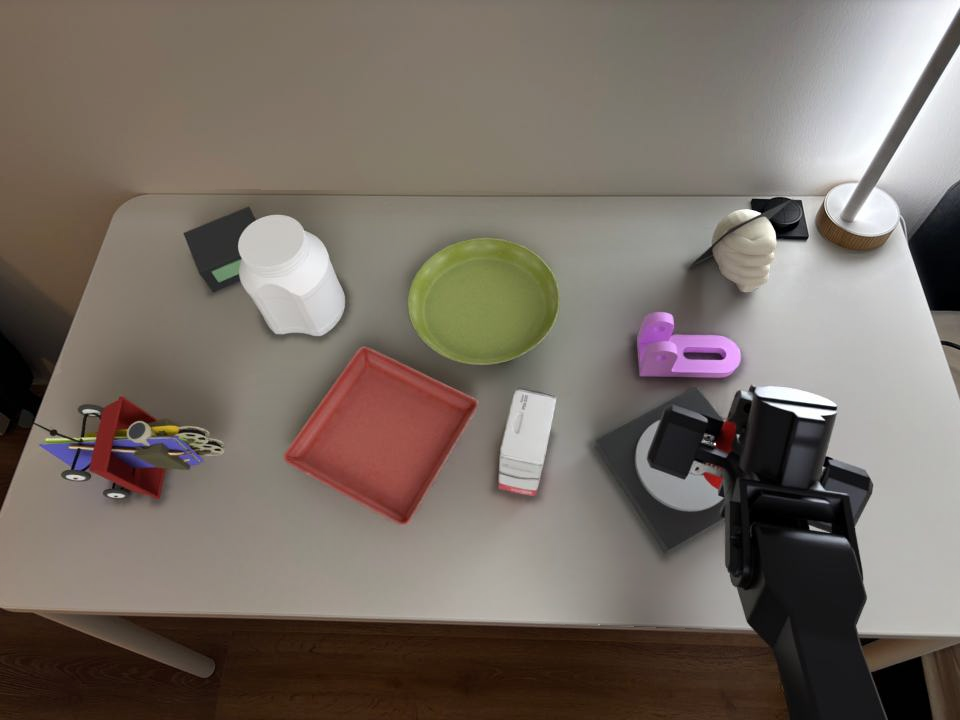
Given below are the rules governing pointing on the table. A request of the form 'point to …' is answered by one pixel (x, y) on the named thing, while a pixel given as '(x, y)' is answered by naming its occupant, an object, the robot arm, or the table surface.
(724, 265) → the decorative object
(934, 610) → the table surface
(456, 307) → the saucer
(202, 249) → the scale display
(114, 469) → the toy cart
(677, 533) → the scale
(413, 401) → the plant saucer
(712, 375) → the bracket
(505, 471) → the ink box
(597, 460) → the table surface
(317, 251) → the jar
